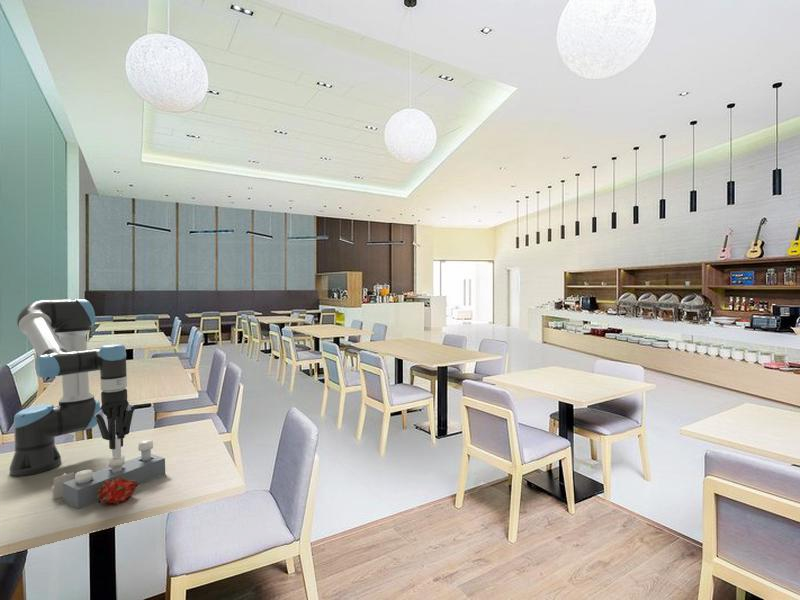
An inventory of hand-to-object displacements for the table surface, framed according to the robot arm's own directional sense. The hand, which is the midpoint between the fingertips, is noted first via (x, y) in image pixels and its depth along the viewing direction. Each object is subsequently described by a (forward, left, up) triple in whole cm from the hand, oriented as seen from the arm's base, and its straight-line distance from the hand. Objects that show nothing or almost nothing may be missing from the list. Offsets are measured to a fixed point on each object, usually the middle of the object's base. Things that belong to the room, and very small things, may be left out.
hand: (116, 457), depth 148 cm
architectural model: (-10, -12, -11) cm, 19 cm away
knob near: (0, -10, -10) cm, 14 cm away
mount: (0, 0, -11) cm, 11 cm away
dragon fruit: (+11, -5, -11) cm, 16 cm away
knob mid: (0, 0, -8) cm, 8 cm away
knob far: (0, +10, -6) cm, 12 cm away
